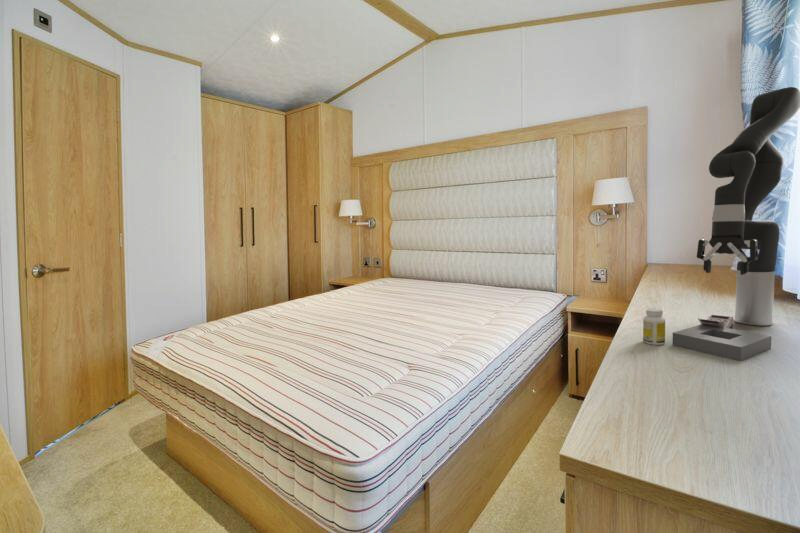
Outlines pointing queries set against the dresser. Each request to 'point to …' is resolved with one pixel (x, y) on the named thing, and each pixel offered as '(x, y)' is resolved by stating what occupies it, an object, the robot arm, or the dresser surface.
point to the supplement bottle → (654, 327)
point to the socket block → (722, 341)
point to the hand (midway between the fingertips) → (724, 273)
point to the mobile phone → (718, 321)
